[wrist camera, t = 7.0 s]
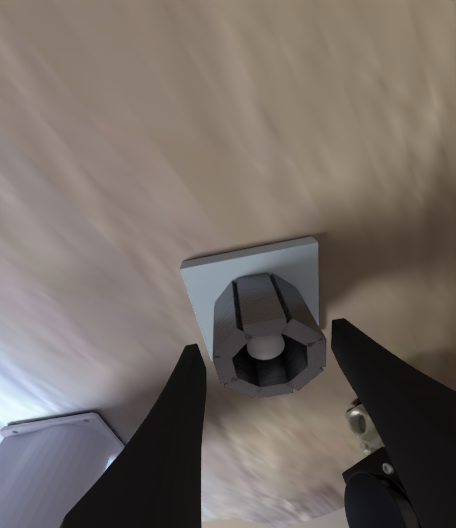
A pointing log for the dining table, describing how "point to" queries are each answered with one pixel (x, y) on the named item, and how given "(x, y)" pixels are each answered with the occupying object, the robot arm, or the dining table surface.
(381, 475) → the pneumatic valve
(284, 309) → the ring
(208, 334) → the square plate with peg
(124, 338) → the dining table surface
